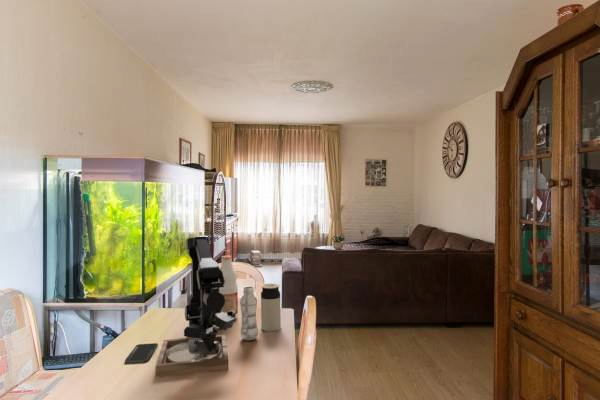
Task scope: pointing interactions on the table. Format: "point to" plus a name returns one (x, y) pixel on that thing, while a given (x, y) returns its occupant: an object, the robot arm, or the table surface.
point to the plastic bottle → (248, 314)
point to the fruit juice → (229, 286)
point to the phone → (141, 353)
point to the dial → (192, 351)
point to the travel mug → (270, 307)
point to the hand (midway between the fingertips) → (209, 351)
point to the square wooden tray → (194, 365)
